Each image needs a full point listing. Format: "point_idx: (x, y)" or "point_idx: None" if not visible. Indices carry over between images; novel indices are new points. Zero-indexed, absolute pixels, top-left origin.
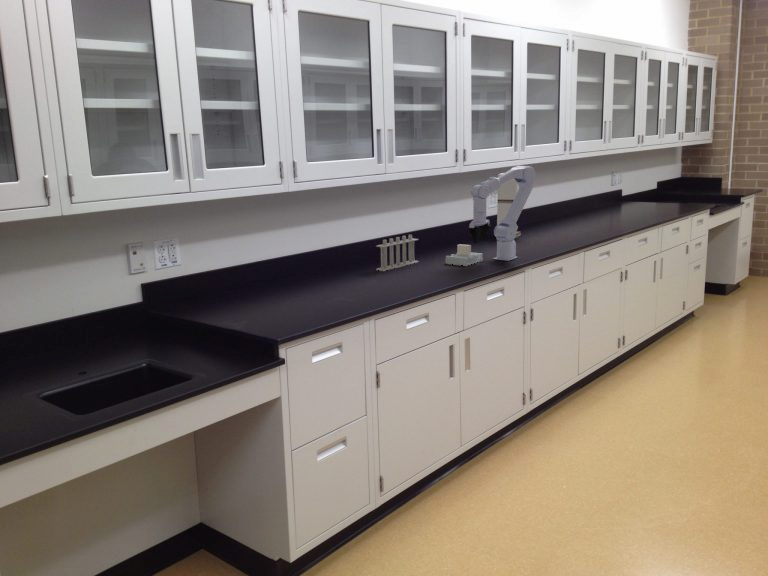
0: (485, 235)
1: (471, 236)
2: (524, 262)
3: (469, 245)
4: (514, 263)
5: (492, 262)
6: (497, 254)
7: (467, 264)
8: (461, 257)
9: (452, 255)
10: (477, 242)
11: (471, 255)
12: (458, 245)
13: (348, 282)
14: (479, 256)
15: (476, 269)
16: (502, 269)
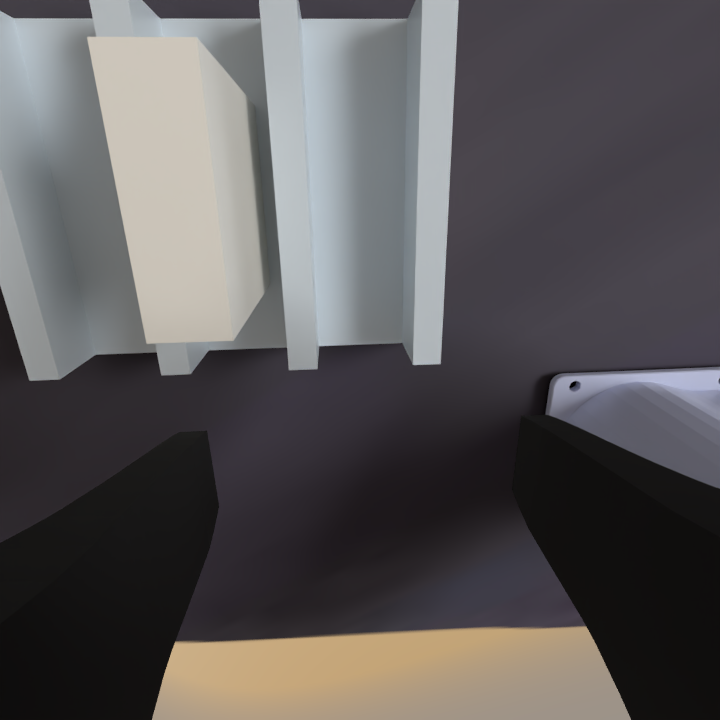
0: (570, 570)
1: (74, 507)
2: (533, 618)
3: (198, 326)
4: (460, 588)
5: (408, 442)
6: (596, 430)
7: (95, 351)
8: (26, 289)
9: (99, 26)
10: (212, 517)
11: (284, 290)
12: (100, 74)
13: None
14: (408, 324)
15: (36, 497)
16: (195, 632)
